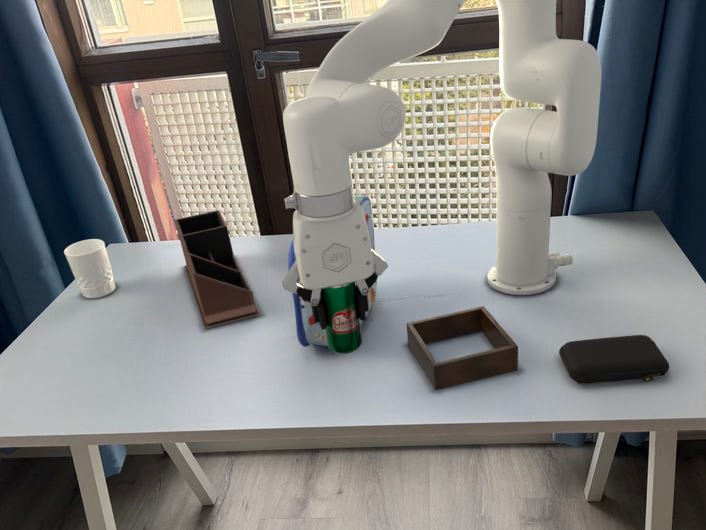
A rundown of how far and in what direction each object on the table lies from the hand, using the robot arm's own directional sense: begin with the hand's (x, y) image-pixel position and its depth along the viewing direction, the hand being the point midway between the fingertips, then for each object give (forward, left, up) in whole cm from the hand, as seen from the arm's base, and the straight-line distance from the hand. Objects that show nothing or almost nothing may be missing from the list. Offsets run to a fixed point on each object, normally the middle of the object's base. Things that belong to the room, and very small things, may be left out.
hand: (341, 319), depth 100 cm
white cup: (+41, -56, -14) cm, 71 cm away
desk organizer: (+17, -45, -14) cm, 50 cm away
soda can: (0, 0, -5) cm, 5 cm away
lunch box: (-4, -23, -14) cm, 27 cm away
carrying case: (-39, +9, -14) cm, 42 cm away
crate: (-19, -3, -14) cm, 24 cm away
